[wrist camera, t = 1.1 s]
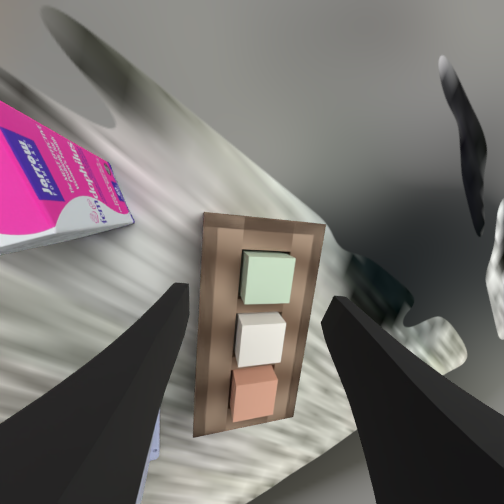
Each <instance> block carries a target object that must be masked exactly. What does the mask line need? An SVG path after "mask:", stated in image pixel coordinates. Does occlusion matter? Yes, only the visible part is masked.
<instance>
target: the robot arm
mask: <svg viewBox="0 0 504 504" xmlns="http://www.w3.org/2000/svg"><path fill="white" fill-rule="evenodd" d="M188 318H189V284H186V283H174V284H173V285H172V286H171V287H170V288H169V289H168V290H167V291H166V292H165V293H164V294H163V295H162V297H161V298H160V299H159V300H158V301H157V302H156V303H155V304H154V305H153V306H152V307H151V308H150V309H149V310H148V311H147V312H146V313H145V314H144V315H143V316H142V317H141V318H140V319H138V320H137V321H136V322H135V323H134V324H133V325H132V326H131V327H130V328H129V329H127V330H126V331H125V332H124V333H123V334H122V335H121V336H120V337H118V338H117V339H116V340H115V341H114V342H113V343H111V344H110V345H109V346H108V347H107V348H105V349H104V350H103V351H102V352H100V353H99V354H98V355H97V356H95V357H94V358H93V359H92V360H90V361H89V362H88V363H86V364H85V365H84V366H83V367H81V368H80V369H78V370H77V371H76V372H74V373H73V374H72V375H70V376H69V377H68V378H66V379H65V380H64V381H62V382H61V383H60V384H58V385H57V386H55V387H54V388H53V389H51V390H50V391H48V392H47V393H46V394H44V395H43V396H41V397H40V398H38V399H37V400H35V401H34V402H32V403H31V404H29V405H28V406H26V407H25V408H23V409H22V410H20V411H19V412H17V413H16V414H14V415H13V416H11V417H10V418H8V419H7V420H5V421H4V422H2V423H1V424H0V504H141V502H142V497H143V492H144V487H145V482H146V477H147V472H148V467H149V462H150V460H155V459H157V458H158V457H159V451H160V406H161V402H162V398H163V395H164V392H165V389H166V386H167V383H168V380H169V378H170V375H171V372H172V369H173V366H174V363H175V361H176V358H177V355H178V352H179V349H180V346H181V344H182V341H183V338H184V335H185V331H186V327H187V322H188ZM321 326H322V330H323V334H324V337H325V341H326V344H327V347H328V349H329V352H330V354H331V357H332V360H333V362H334V365H335V367H336V370H337V372H338V374H339V377H340V379H341V382H342V384H343V387H344V389H345V392H346V395H347V398H348V400H349V403H350V406H351V410H352V413H353V416H354V419H355V423H356V426H357V429H358V433H359V437H360V440H361V444H362V447H363V451H364V454H365V458H366V461H367V466H368V470H369V474H370V478H371V482H372V486H373V490H374V495H375V499H376V503H377V504H504V416H503V415H501V414H500V413H498V412H496V411H495V410H493V409H492V408H490V407H489V406H487V405H485V404H484V403H482V402H481V401H479V400H478V399H476V398H475V397H473V396H472V395H470V394H469V393H467V392H466V391H464V390H462V389H461V388H460V387H458V386H457V385H455V384H454V383H452V382H451V381H450V380H448V379H447V378H445V377H444V376H443V375H441V374H440V373H438V372H437V371H436V370H434V369H433V368H432V367H430V366H429V365H427V364H426V363H425V362H423V361H422V360H421V359H419V358H418V357H417V356H416V355H414V354H413V353H412V352H411V351H409V350H408V349H407V348H406V347H404V346H403V345H402V344H401V343H399V342H398V341H397V340H396V339H394V338H393V337H392V336H391V335H390V334H389V333H387V332H386V331H385V330H384V329H383V328H381V327H380V326H379V325H378V324H377V323H376V322H375V321H373V320H372V319H371V318H370V317H369V316H368V315H367V314H365V313H364V312H363V311H362V310H361V309H360V308H359V307H357V306H356V305H355V304H354V303H353V302H351V301H350V300H349V299H348V298H346V297H343V296H334V297H333V299H332V301H331V303H330V305H329V307H328V309H327V311H326V313H325V315H324V317H323V319H322V321H321Z"/></svg>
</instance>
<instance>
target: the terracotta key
mask: <svg viewBox="0 0 504 504" xmlns="http://www.w3.org/2000/svg"><path fill="white" fill-rule="evenodd" d="M277 383H278V379H277V377H276V374H275V372H274V370H273V368H272V366H271V365H268V366H259V367H251V368H243V369H235V370H231V375H230V386H229V401H230V408H231V414H232V421H233V422H238V421H243V420H248V419H253V418H258V417H263V416H268V415H273V411H274V404H275V397H276V390H277Z"/></svg>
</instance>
